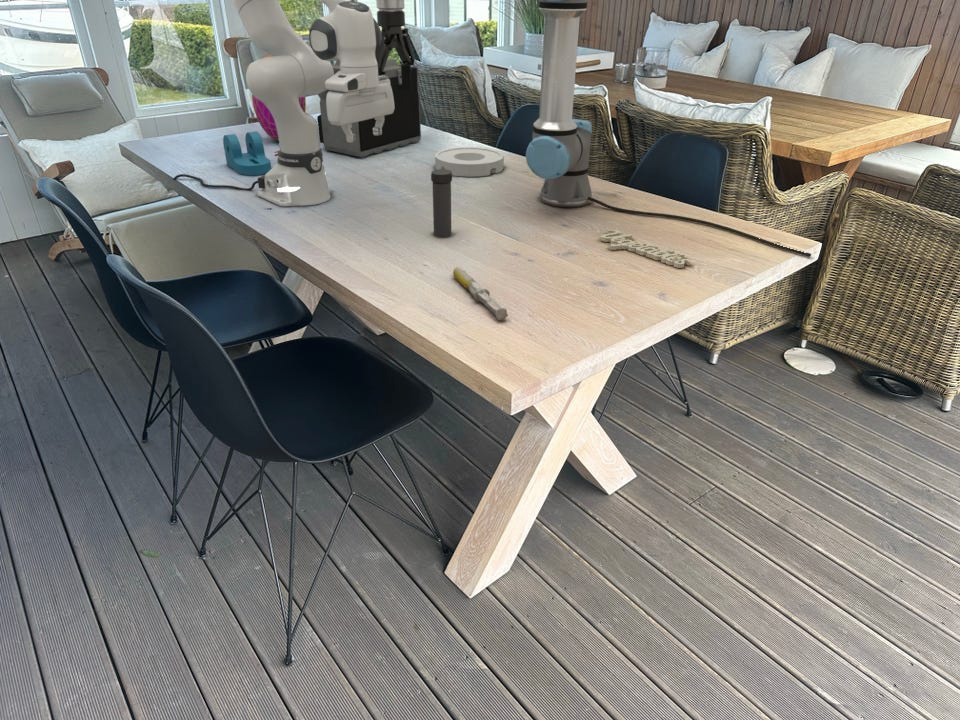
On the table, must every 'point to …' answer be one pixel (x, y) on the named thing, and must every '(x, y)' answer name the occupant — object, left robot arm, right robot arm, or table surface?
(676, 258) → the decorative sign
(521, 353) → the table surface
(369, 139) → the cooler box
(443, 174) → the lid
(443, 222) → the dark grey cylinder
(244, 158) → the camera mount
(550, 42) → the right robot arm
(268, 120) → the decorative egg
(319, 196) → the left robot arm
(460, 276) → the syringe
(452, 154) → the ashtray
